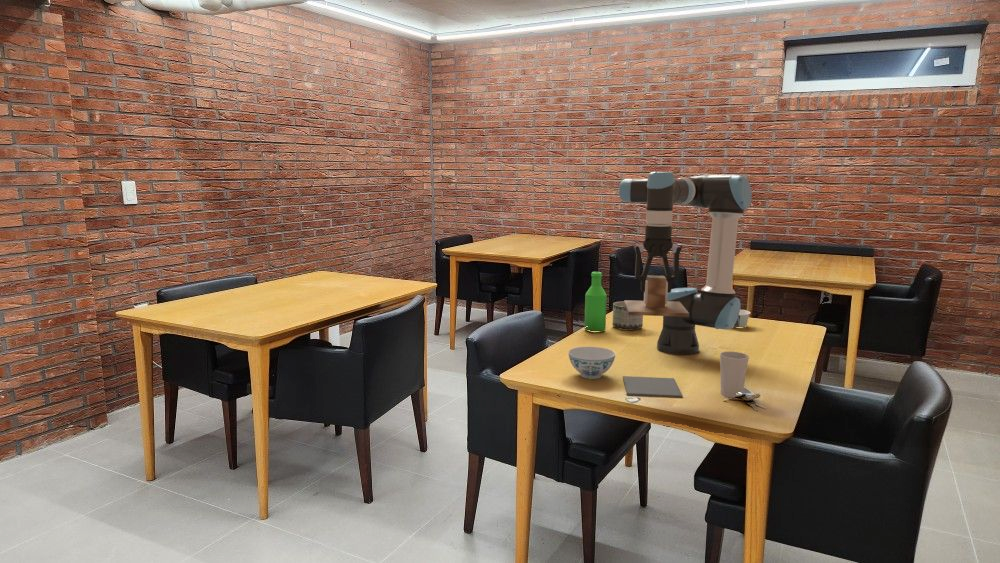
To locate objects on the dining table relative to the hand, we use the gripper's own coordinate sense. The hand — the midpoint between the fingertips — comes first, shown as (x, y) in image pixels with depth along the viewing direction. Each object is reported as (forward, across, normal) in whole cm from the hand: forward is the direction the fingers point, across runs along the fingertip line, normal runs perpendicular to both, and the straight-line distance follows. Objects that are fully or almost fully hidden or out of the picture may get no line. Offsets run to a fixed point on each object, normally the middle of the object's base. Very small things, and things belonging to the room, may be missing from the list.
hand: (655, 302), depth 183 cm
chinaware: (+27, +18, -9) cm, 33 cm away
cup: (+27, -23, +3) cm, 35 cm away
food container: (+27, -46, -87) cm, 102 cm away
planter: (+27, +1, -77) cm, 82 cm away
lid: (+2, 0, 0) cm, 2 cm away
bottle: (+27, +15, -70) cm, 76 cm away
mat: (+26, 0, 0) cm, 26 cm away
